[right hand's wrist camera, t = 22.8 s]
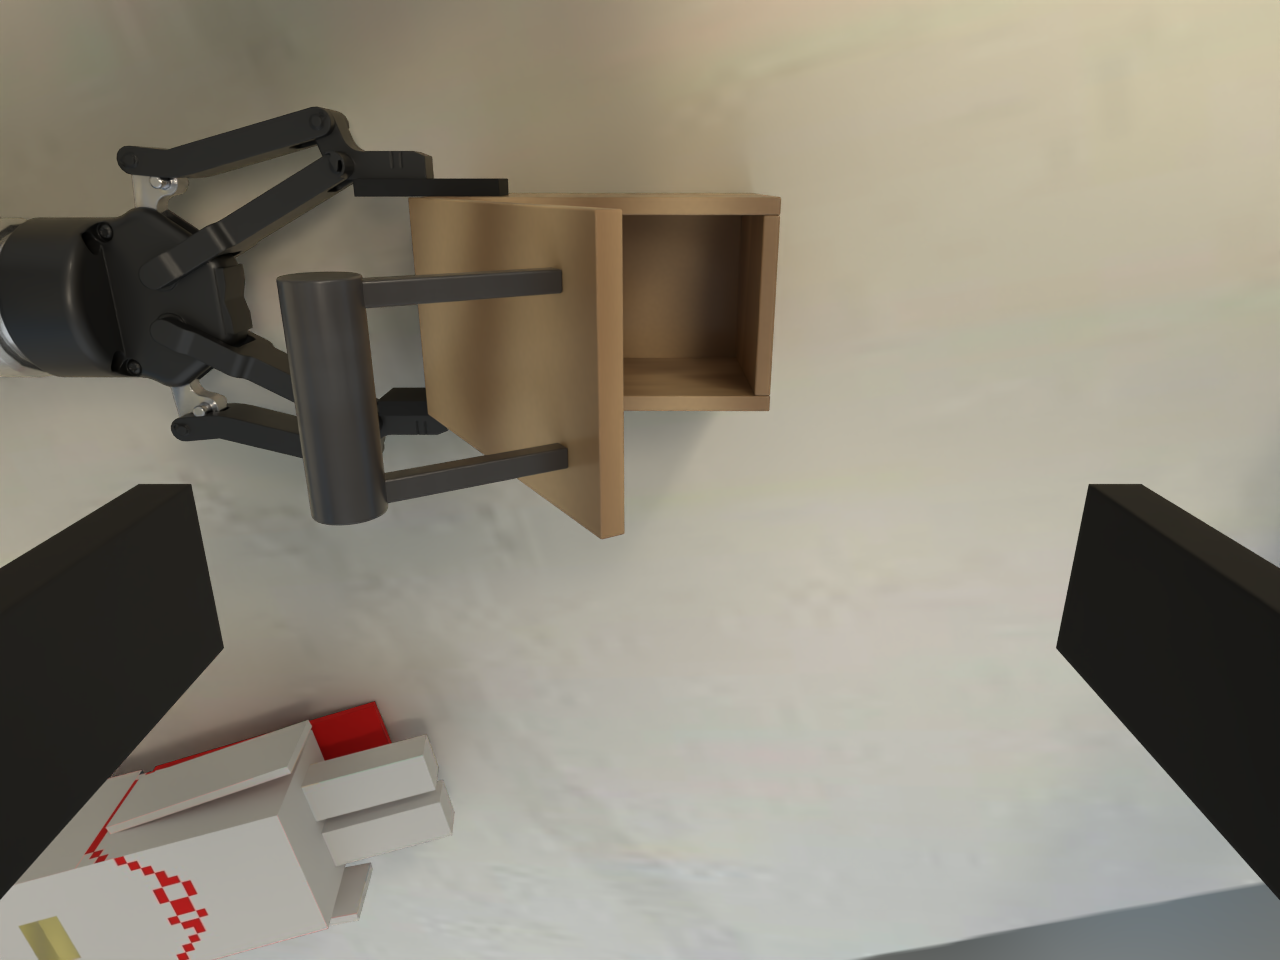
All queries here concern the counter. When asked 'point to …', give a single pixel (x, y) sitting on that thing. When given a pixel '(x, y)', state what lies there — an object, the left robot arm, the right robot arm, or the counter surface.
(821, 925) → the counter surface
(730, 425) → the counter surface
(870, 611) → the counter surface
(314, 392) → the lid
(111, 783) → the toy
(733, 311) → the chest
